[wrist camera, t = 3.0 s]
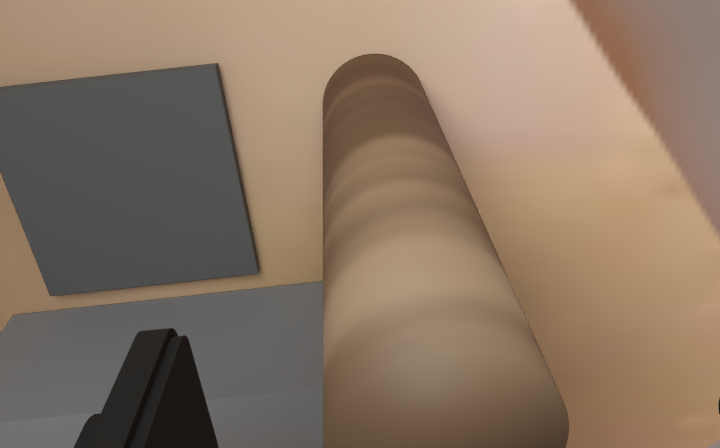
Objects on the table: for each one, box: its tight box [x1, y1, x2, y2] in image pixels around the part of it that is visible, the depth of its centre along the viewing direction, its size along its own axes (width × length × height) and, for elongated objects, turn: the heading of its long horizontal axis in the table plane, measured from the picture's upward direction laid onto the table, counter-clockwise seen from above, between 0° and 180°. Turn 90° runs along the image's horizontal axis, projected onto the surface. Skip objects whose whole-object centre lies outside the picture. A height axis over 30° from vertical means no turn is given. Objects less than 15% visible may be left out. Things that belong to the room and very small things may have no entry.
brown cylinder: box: [323, 54, 569, 448], centre depth 16 cm, size 4×4×15 cm
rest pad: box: [0, 63, 259, 296], centre depth 23 cm, size 8×8×1 cm
